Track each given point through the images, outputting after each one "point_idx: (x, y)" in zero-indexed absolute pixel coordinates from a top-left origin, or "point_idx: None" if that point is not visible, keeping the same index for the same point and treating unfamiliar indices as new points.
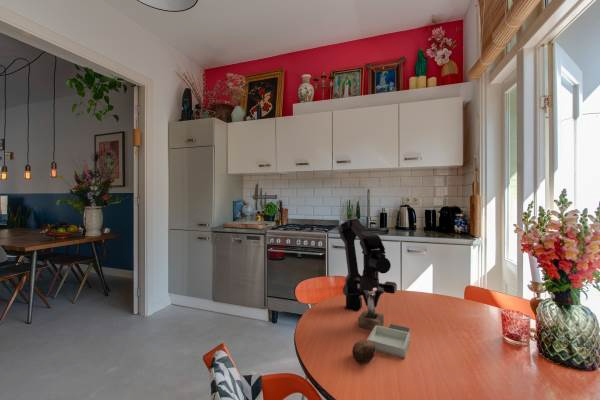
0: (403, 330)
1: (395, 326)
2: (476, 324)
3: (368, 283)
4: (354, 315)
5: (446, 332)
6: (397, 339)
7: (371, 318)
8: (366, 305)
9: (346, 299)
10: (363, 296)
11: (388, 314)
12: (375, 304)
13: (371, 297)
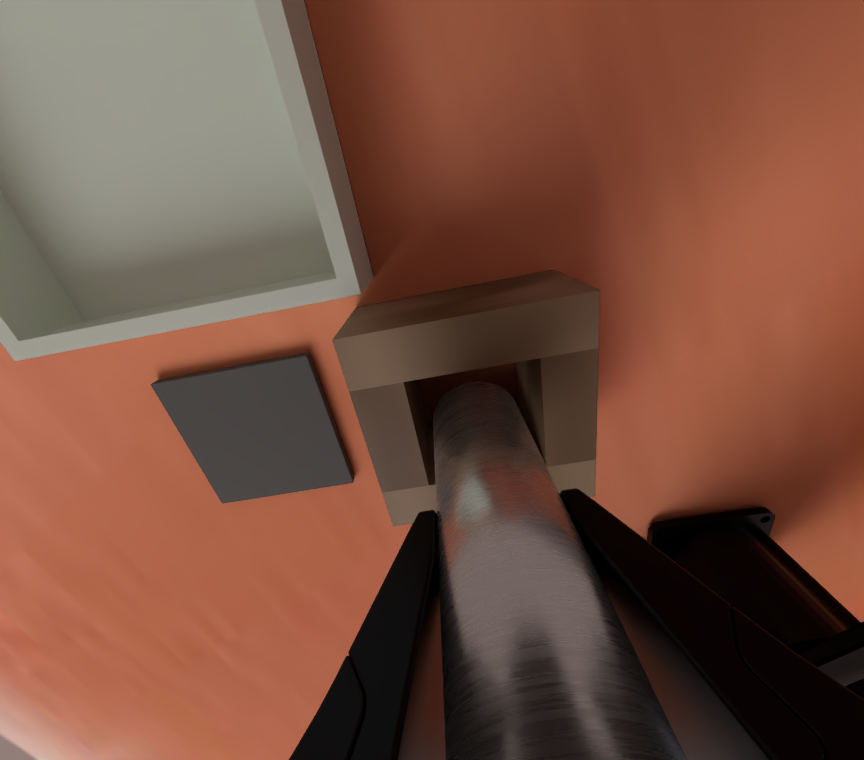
0: (225, 448)
1: (304, 469)
2: (44, 701)
3: None
4: (658, 457)
5: (56, 575)
6: (138, 263)
7: (448, 370)
8: (573, 490)
9: (822, 592)
10: (761, 643)
11: None
12: (416, 548)
13: (508, 686)
